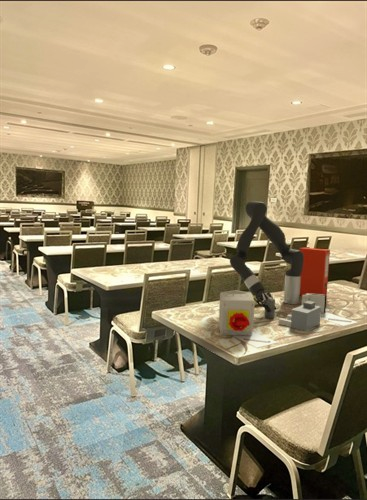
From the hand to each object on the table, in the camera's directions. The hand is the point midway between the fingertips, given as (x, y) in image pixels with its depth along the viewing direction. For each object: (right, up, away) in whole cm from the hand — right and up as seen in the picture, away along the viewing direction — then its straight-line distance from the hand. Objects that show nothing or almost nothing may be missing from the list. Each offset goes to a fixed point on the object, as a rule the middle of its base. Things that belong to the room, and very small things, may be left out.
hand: (272, 310), depth 194 cm
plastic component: (-8, -1, +26) cm, 27 cm away
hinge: (+26, -3, +14) cm, 30 cm away
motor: (+13, -5, -6) cm, 15 cm away
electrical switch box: (-23, -7, -24) cm, 34 cm away
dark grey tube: (-1, -4, +2) cm, 5 cm away
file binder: (+38, +1, +50) cm, 63 cm away
